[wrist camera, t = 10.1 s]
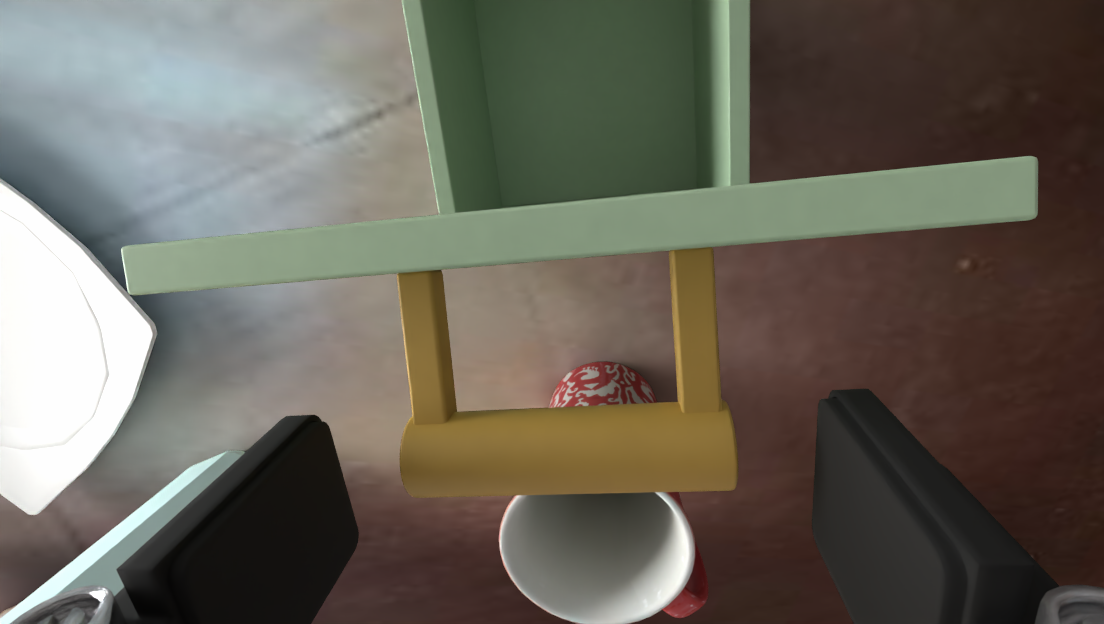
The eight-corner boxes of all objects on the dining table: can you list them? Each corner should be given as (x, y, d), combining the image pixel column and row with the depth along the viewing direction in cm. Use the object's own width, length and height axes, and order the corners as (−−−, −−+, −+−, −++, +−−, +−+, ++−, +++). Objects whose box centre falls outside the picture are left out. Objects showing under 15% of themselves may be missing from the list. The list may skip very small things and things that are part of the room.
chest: (455, -50, 29) (376, -137, 20) (703, -92, 28) (750, -211, 18) (494, 218, 34) (445, 255, 24) (709, 198, 32) (750, 228, 22)
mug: (510, 397, 38) (457, 534, 25) (611, 321, 35) (609, 430, 22) (624, 518, 40) (629, 700, 27) (727, 454, 37) (785, 623, 25)
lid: (117, 246, 9) (169, 556, 9) (1041, 154, 7) (1038, 550, 7) (441, 248, 24) (453, 364, 24) (752, 220, 22) (757, 346, 22)
